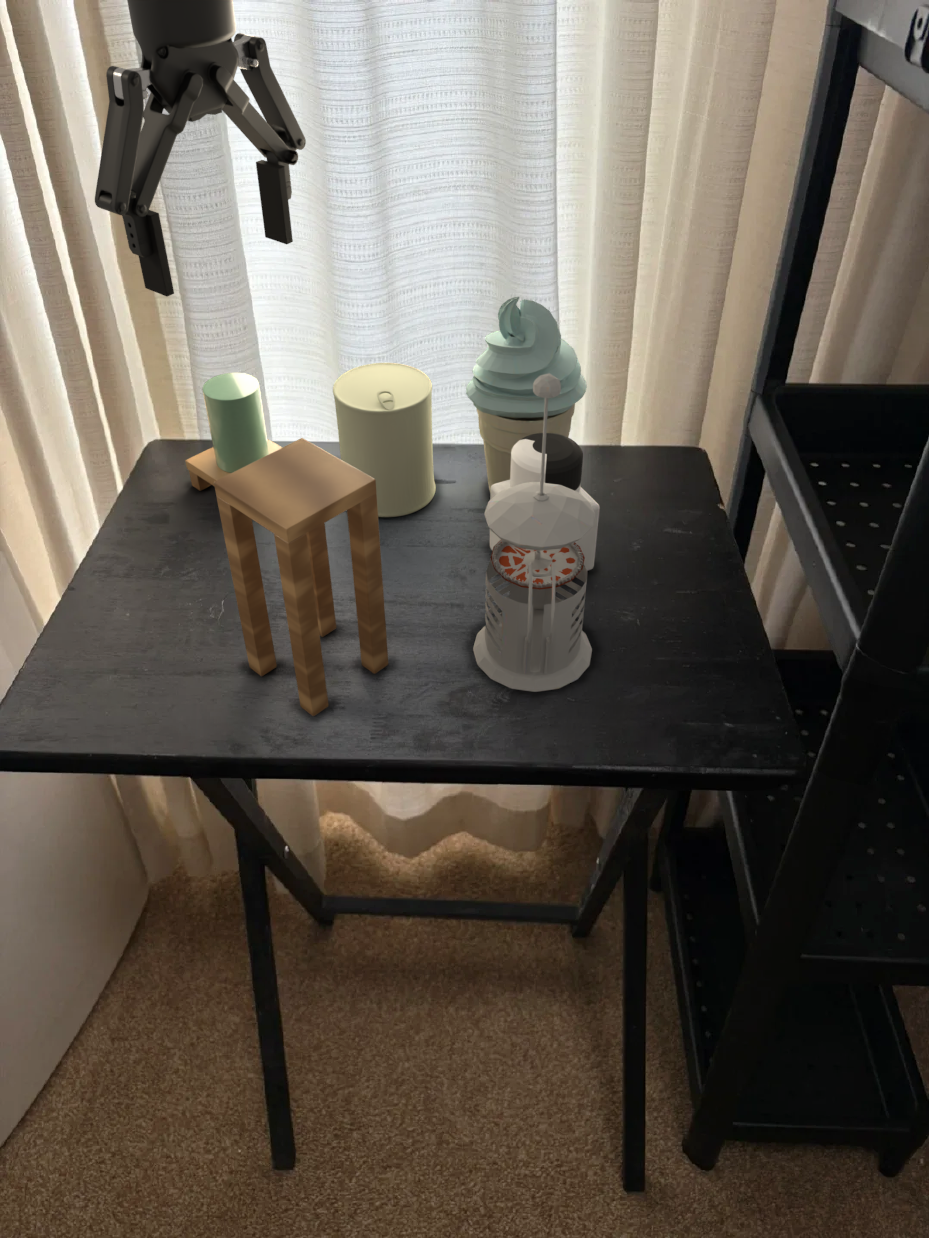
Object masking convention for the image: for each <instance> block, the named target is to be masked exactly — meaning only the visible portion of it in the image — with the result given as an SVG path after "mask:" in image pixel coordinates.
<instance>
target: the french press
mask: <svg viewBox="0 0 929 1238" xmlns="http://www.w3.org/2000/svg"><path fill="white" fill-rule="evenodd" d="M533 392H534V394H535V395H537V396H539V397H542V398H545V404H544V423H543V442H542V461H541V480H540V482H528V483H523V484H519V485H516V486H513V487H511V488H508V489H505V490H503V491H500V492H499V493H498V494H497V495H496V496H494V497H493V498H492V499H491V500H490V499H489V501H488V502H487V505H486V507H485V510H484V513H483V514H484V518H485V520H486V523H487V527H488V528H489V531H490V530H491V531H492V532H493V533H495V534H496V535H497V536H498V537H499V538H500V539H501V540H500V541H499V542H498V543H497V544H496V545H495V546H494V547H493V550H491V554H490V560H489V562H488V565H487V567H486V570H485V582H484V583H485V586H486V588H485V589H484V592H485V599H486V601H485V602H484V605H485V606H484V608H485V609H484V610H485V614H484V622H485V625H484V626H483V627H482V628H481V630H479V631H478V632H477V634H476V637H475V641H474V645H473V647H472V651H473V654H474V658H475V661H476V665H477V666H478V667H479V669H480V670H481V671H483V672H484V673H485V674H486V675H487V677H488V678H489V679H490V680H492V681H494V682H496V683H499V684H501V685H502V686H505V687H507V688H509V689H512V690H519V691H526V692H533V693H537V692H545V691H551V690H558V689H561V688H563V687H565V686H567V685H569V684H570V683H573V682H575V681H577V680H579V678H580V677H581V676H582V675H583V674H584V672H586V670H587V669H588V668H589V667H590V665H591V658H592V652H593V648H592V646H591V643H590V641H589V638H588V636H587V634H586V632H585V631H583V624H584V612H585V602H586V601H585V600H586V592H587V591H586V590H587V582H588V571H587V570H586V568H585V566H584V559H585V557H584V555H583V552H582V550H581V548H580V546H579V545H577V544H576V543H575V542H576V541H578V540H579V539H581V538H582V537H583V536H584V535H585V534H586V533H587V532H588V531H589V530H590V529H591V528H592V527H593V523H594V518H595V512H594V510H593V508H592V506H591V504H590V502H589V501H588V500H587V499H585V498H584V497H583V496H582V495H580V494H579V493H578V492H577V491H574V490H572V489H569V488H567V487H565V486H562V485H558V484H549V483H544V466H545V449H546V431H547V414H548V398H553V397H556V396H558V395H559V394H560V392H561V383H560V380H559V379H557V378H556V377H554V376H553V375H551V374H550V373H549V374H545V375H541V376H539V377H538V378H537V379H536V380H535V381H534V383H533ZM497 575H499V576H500V578H499V579H497V580H495V581H493V582H492V583H491V582H490V580H491V579H492V578H494V577H496V576H497ZM575 578H576V579H578V580H580V581H581V582H582V583H584V584H583V585H582V586H581V585H579V584H577V583H575V582H574V581H573V580H574V579H575ZM506 582H508V583H509V584H508V585H507V586H506V585H505V587H503V588H501V589H500V590H496V588H498V587H500V586H502V585H503V584H505V583H506ZM563 585H565V586H567V587H569V588H570V589H571V590H574V591H575V592H576V593H575V594H572V593H571V592H569V591H567V590H566V589H565V588H562V587H561V586H563ZM507 593H509V596H508V597H507V596H505V594H507ZM556 593H558V594H559V595H562V596H563V597H564V598H565V599H563V600H562V599H560V598H559V597H557V596H556ZM489 595H490V596H489ZM583 597H584V598H583ZM493 602H494V603H495V605H494V604H493ZM488 606H489V607H488ZM578 606H579V607H578ZM577 607H578V609H577ZM499 609H500V611H501V612H499V611H498V610H499ZM582 609H583V610H582ZM492 614H493V615H494V617H493V615H492ZM577 618H578V619H577ZM488 619H489V620H488ZM576 619H577V620H576Z"/></svg>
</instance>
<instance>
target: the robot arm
mask: <svg viewBox="0 0 929 1238" xmlns="http://www.w3.org/2000/svg"><path fill="white" fill-rule="evenodd" d="M126 1H127V7H128V11H129V17H130V22H131V28H132V34H133V36H134V37H135V39H136V41H137V43H138V46H139V49H140V50H141V62H140V67H134V68H123V67H120V66H115V65H111V66H109V67H107V69H106V73H105V74H106V76H105V77H106V85H107V91H108V93H107V94H108V101H109V103H108V108H107V113H106V121H105V127H104V134H103V141H102V147H101V155H100V161H99V167H98V174H97V181H96V187H95V193H94V204H95V206H96V207H97V208H99V209H102V210H103V211H107V212H110V213H113V214H116V215H118V216H121V217H122V221H123V226H124V230H125V235H126V239H127V244H128V248H129V250H130V252H131V253H132V254H133V255H135V256H137V257H138V260H139V264H140V270H141V274H142V279H143V284H144V288H145V289H146V290H149V291H152V292H154V293H157V294H159V295H161V296H164V297H170V296H172V295H174V294H175V290H174V285H173V279H172V274H171V270H170V264H169V260H168V259H169V258H168V254H167V248H166V244H165V238H164V233H163V228H162V224H161V223H162V222H161V218H160V213H159V212H157V211H154V210H151V206H152V203H153V200H154V198H155V195H156V192H157V190H158V187H159V184H160V182H161V180H162V177H163V173H164V171H165V168H166V167H167V166H166V165H167V163H168V161H169V157H170V155H171V152H172V149H173V148H174V145H175V142H176V139H177V137H178V135H179V134H181V133H182V132H184V130H185V128H186V125H187V123H188V122H191V123H194V122H196V121H200V120H201V119H202V118H204V117H205V116H206V115H213V116H215V115H218V114H221V113H222V114H223V113H224V114H225V115H226V116H227V117H228V119H229V120H230V121H231V122H232V123H233V124H234V125H235V126H236V127H237V129H238V130H239V131H240V132H241V133H242V134H243V135H244V136H245V137H246V138H247V139H248V141H249V142H250V143H251V144H252V145H253V147H255V149H256V150H257V151H258V152H259V153H260V154H261V155H262V156H263V157H264V158H266V160H265V159H260V160H258V161H256V162H255V167H256V174H257V182H258V190H259V198H260V207H261V213H262V223H263V230H264V236H265V238H266V239H269V240H272V241H274V242H278V243H280V244H281V243H282V244H284V245H289V244H291V243H293V242H294V240H293V230H292V222H291V213H290V204H289V200H291V199H292V195H293V194H292V193H293V190H292V189H293V188H292V181H291V180H292V179H291V170H290V166H295V165H297V163H298V161H299V153H298V152H297V151H298V150H299V151H302V150H304V148H305V147H306V144H307V139H306V136H305V134H304V133H303V131H302V128H301V126H300V124H299V122H298V120H297V118H296V116H295V114H294V112H293V110H292V108H291V105H290V104H289V102H288V100H287V97H286V95H285V94H284V91H283V89H282V87H281V85H280V83H279V81H278V79H277V77H276V75H275V72H274V71H273V69H272V67H271V62H270V58H269V52H268V47H267V42H266V40H265V38H263V37H261V36H256V35H251V34H246V33H243V32H238V33H236V32H237V23H236V22H237V21H236V14H235V7H234V0H126ZM233 37H234V38H233ZM238 68H239V70H240V73H241V75H242V77H243V79H244V81H245V83H246V85H247V87H248V89H249V91H250V93H251V94H252V97H253V98H254V101H255V102H256V104H257V106H258V109H259V110H260V112H261V114H262V115H261V114H260V112H259V111H258V110H257V109H256V108H255V107H254V106H253V104H252V103H251V102H250V97H249V96H248V95H247V93H246V92H245V91H244V89H242V87H240V85H239V84H238V83H237V82H236V80H235V76H236V74H237V71H238ZM147 90H148V91H149V92H150V94H149V92H148V91H147ZM145 100H147V101H146V104H145V102H144V101H145ZM164 110H165V111H166V112H167V114H166V113H163V112H164ZM143 120H144V122H143Z"/></svg>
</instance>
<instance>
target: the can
mask: <svg viewBox="0 0 929 1238" xmlns="http://www.w3.org/2000/svg"><path fill="white" fill-rule="evenodd" d="M432 393H433V383H432V380H431V379H430V377H429V375H427V374H426V373H425V372H424V371H422V370H421V369H418V368H417V367H414V366H411V365H407V364H403V363H397V362H396V363H395V362H374V363H368V364H363V365H359V366H356V367H354V368H351V369H349V370H347V371H345V372H344V373H342V374H341V375H339V377H337V379H336V380H335V381H334V383H333V386H332V395H333V398H334V406H335V415H336V424H337V425H336V426H337V433H338V434H337V435H338V443H339V453H340V460H342V461H344V462H346V463H347V464H349V465H351V466H353V467H355V468H356V469H358V470H360V471H362V472H363V473H365V474H367V475H369V476H370V477H372V478H374V479H375V480H376V492H377V493H376V494H377V508H378V518H395V517H402V516H407V515H410V514H413V513H415V512H418V511H419V510H421V509H423V508H425V507H426V506H427V505H429V503H431V501H432V500H433V498H434V497H435V495H436V494H435V493H436V490H437V489H436V487H437V486H436V482H435V475H434V473H435V472H434V452H433V451H434V450H433V405H432V404H433V403H432V399H433V398H432V397H433V394H432Z"/></svg>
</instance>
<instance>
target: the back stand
mask: <svg viewBox="0 0 929 1238" xmlns="http://www.w3.org/2000/svg"><path fill="white" fill-rule="evenodd" d="M267 440H268V447H269V454H271V453H273V452H275V451H277V450H279V449H281V448H283V447H282V446H281V445H279V444H277V443H275V442H274V441H272V440H270V439H269V438H267ZM184 461H185V466H186V469H187V470H188V473H189V478H190V483H191V486H192V487H194V488H195V489H196V490H198V491H200V492H201V491H203V490H206V489H207V488H209V487H211V486H213V487H215V486H214V482H215V481H217V480H219V479H221V478H223V477H225V476H227V475H229V474H231V473H229V472H225V471H223V470H221V469H220V468H219V467H218V466H217V464H216V459H215V454H214V449H213V446H212V447H210V448H208V449H206V450H204V451H201V452H200V453H197V454H195V455H192V456H191V457H188V458H187V459H185V460H184Z"/></svg>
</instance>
